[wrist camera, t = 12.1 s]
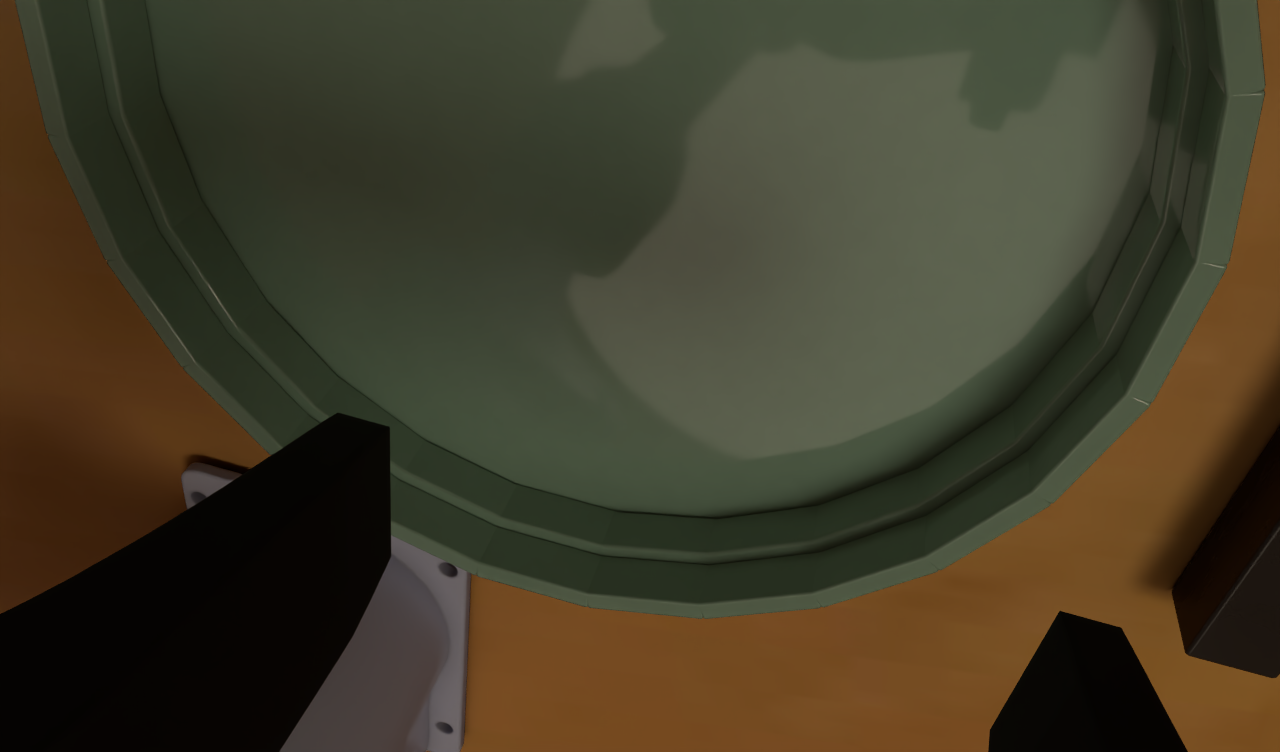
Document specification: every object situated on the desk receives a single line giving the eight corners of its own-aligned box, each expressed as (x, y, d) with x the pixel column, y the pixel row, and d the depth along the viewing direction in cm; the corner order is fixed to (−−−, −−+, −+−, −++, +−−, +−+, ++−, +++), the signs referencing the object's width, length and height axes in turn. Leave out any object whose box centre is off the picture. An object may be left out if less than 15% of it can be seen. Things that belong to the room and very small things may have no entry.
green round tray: (976, 592, 24) (978, 720, 21) (215, 386, 26) (126, 477, 23) (1496, -475, 12) (1657, -508, 9) (50, -678, 14) (-167, -753, 12)
